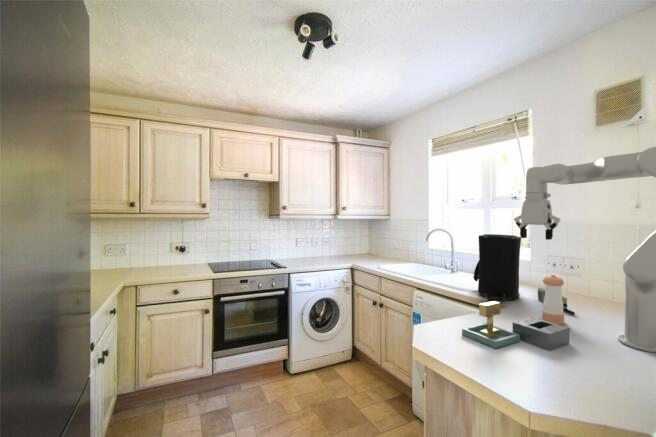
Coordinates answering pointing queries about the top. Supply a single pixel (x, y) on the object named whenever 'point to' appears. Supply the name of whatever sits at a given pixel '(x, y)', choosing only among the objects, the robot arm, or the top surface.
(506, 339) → the tray
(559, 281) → the pepper shaker
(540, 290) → the handheld radio
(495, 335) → the t key
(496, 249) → the black backpack
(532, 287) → the top surface
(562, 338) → the block
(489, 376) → the top surface
